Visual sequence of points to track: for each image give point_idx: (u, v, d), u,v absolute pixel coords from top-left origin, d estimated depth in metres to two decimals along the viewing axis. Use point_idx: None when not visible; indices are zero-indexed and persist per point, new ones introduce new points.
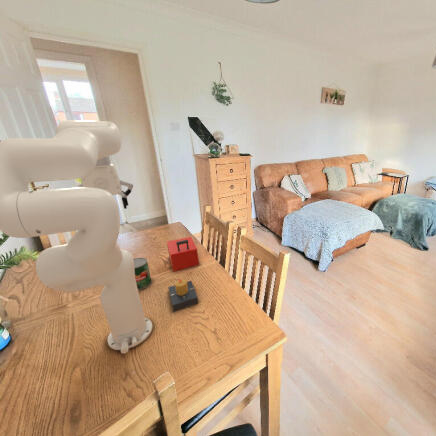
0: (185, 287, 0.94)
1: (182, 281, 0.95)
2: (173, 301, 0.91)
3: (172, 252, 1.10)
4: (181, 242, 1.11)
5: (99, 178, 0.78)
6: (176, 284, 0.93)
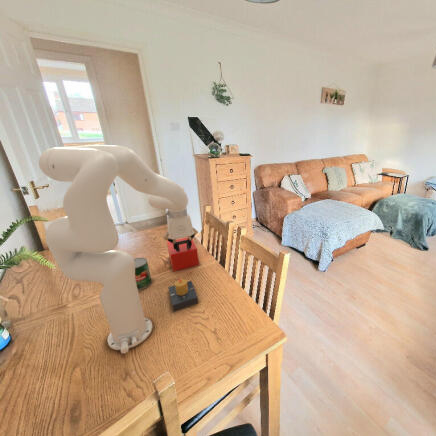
0: (185, 287, 0.94)
1: (182, 281, 0.95)
2: (173, 301, 0.91)
3: (172, 252, 1.10)
4: (181, 242, 1.11)
5: (180, 225, 1.06)
6: (176, 284, 0.93)
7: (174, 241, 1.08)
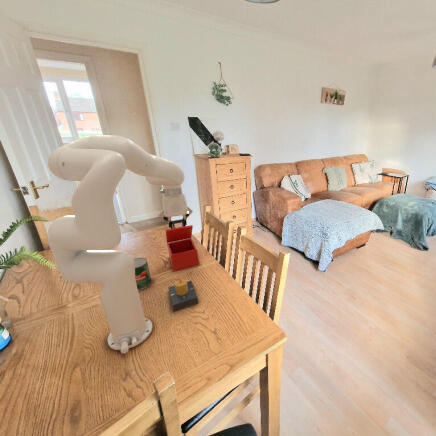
0: (185, 287, 0.94)
1: (182, 281, 0.95)
2: (173, 301, 0.91)
3: None
4: (176, 220, 1.14)
5: (174, 203, 1.09)
6: (176, 284, 0.93)
7: (169, 219, 1.11)
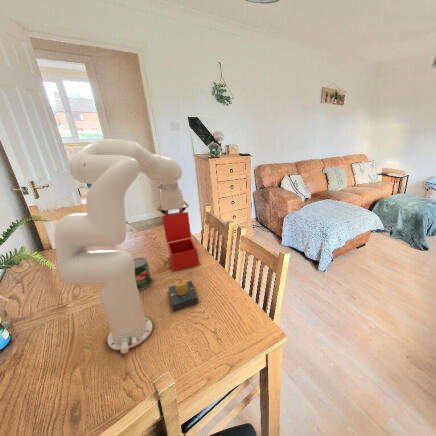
0: (185, 287, 0.94)
1: (182, 281, 0.95)
2: (173, 301, 0.91)
3: None
4: (173, 213, 1.21)
5: (171, 198, 1.16)
6: (176, 284, 0.93)
7: (166, 212, 1.18)
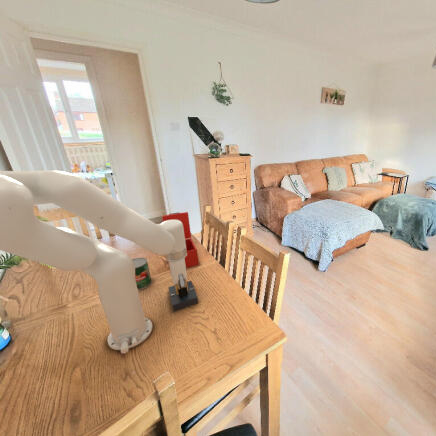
0: None
1: None
2: (173, 301, 0.91)
3: None
4: (173, 213, 1.21)
5: (169, 265, 0.89)
6: (176, 284, 0.93)
7: None
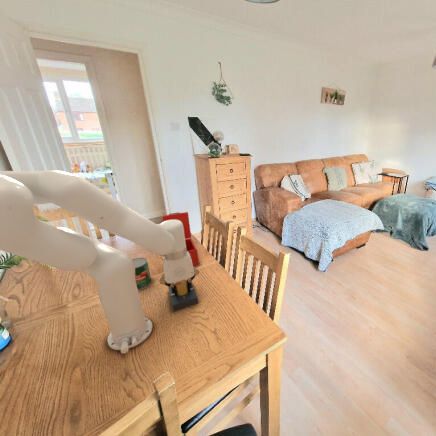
0: None
1: (179, 282, 0.94)
2: (173, 301, 0.91)
3: None
4: (173, 213, 1.21)
5: (178, 267, 0.88)
6: (182, 284, 0.93)
7: (172, 285, 0.91)
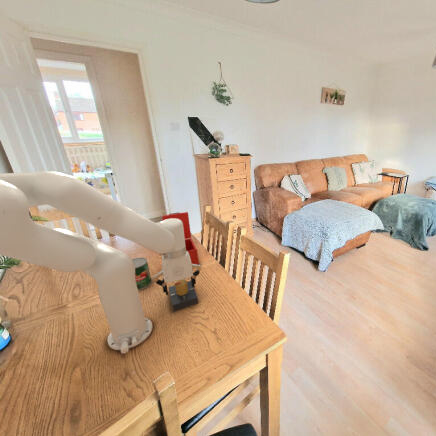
0: None
1: (179, 282, 0.94)
2: (173, 301, 0.91)
3: None
4: (173, 213, 1.21)
5: (177, 266, 0.88)
6: (182, 284, 0.93)
7: (164, 284, 0.89)
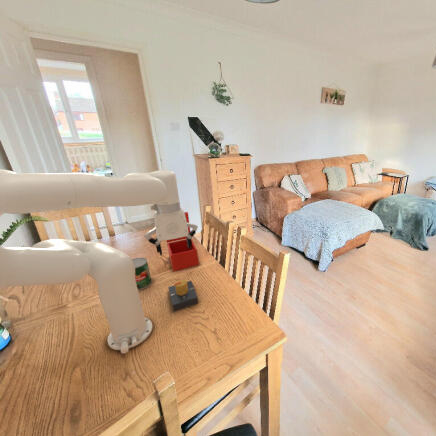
0: None
1: (179, 282, 0.94)
2: (173, 301, 0.91)
3: None
4: None
5: (171, 223, 0.81)
6: (182, 284, 0.93)
7: (158, 242, 0.83)
